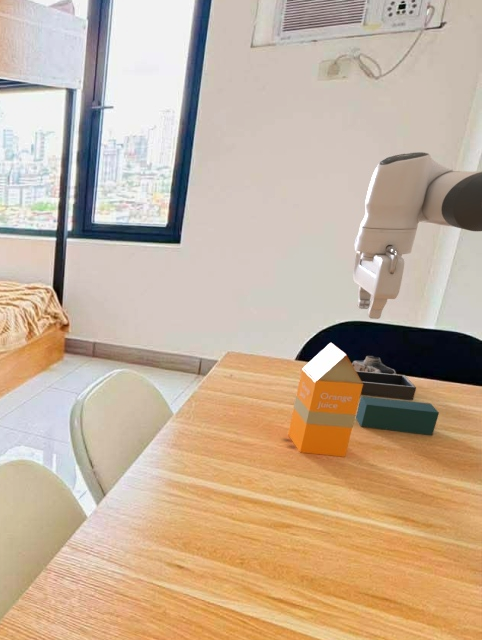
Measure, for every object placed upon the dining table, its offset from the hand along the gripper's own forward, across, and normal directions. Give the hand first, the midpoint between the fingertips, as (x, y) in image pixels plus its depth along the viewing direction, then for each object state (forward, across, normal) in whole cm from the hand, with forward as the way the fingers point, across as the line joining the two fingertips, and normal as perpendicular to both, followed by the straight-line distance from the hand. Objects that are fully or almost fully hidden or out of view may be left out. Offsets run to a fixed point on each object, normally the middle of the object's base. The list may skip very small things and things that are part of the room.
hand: (367, 312), depth 126 cm
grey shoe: (+24, +41, -13) cm, 50 cm away
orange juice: (+24, -16, +7) cm, 29 cm away
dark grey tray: (+24, +26, -9) cm, 37 cm away
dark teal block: (+24, +1, -9) cm, 26 cm away
